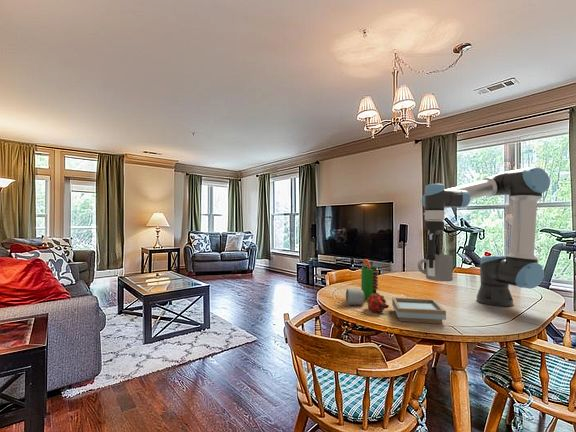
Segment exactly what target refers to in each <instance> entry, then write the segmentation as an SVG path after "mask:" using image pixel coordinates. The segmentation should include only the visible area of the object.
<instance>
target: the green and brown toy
mask: <svg viewBox="0 0 576 432" xmlns="http://www.w3.org/2000/svg"><path fill="white" fill-rule="evenodd" d="M362 264H365V265H367V266H362V267H361V278H360V281H361V282H360V284H361V287H360V288H361V289H360V290H363V291H364V296H365V300H366V301H367V300H368V297H369V296H370V295H371V294H373V293H377V290H378V289H379V287H378V285H379V270H377V269H378V268H377V266H371V264H370V260H369V259H363V260H362Z"/></svg>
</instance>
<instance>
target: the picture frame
mask: <svg viewBox="0 0 576 432" xmlns="http://www.w3.org/2000/svg"><path fill="white" fill-rule="evenodd" d="M391 298H392V299H391V300H392V302H391V304H392V305H391V306H392V307H393V310H394V312H395V314H396V316H397V317H398V321H400V322H410V323H411V322H412V323H428V324H429V323H430V324H443V321H446V320H447V310H446V309H445V308H444V307H443V306H441V304H440V303H439V302H438V301H437V300H436V299H435V298H416V297H415V298H414V297H413V298H412V297H391Z"/></svg>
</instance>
